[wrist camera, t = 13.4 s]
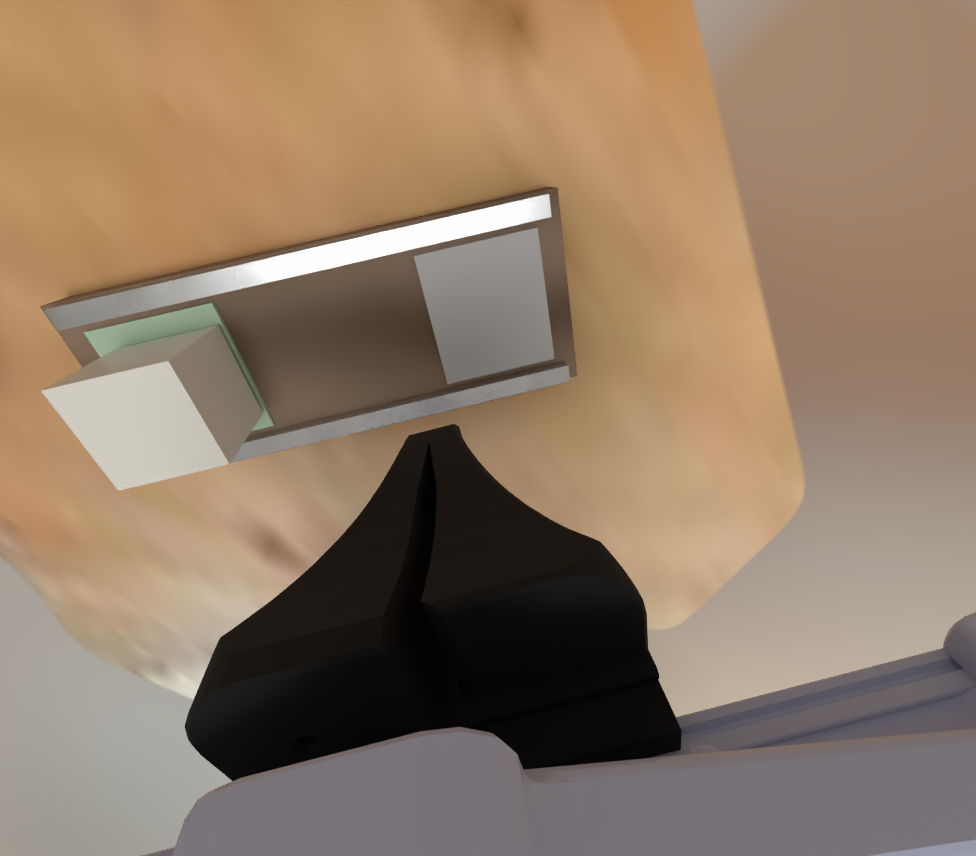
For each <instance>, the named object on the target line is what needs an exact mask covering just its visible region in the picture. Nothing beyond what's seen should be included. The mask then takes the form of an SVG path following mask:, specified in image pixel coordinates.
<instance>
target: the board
mask: <svg viewBox="0 0 976 856" xmlns="http://www.w3.org/2000/svg"><path fill="white" fill-rule="evenodd" d="M40 307H41V309H42V310H43V312H44V313H45V314H46V316H47V317H48V319H49V320H50V322H51V323H52V324H53V326H54V327H55V329H56V330H57V332H58V333H59V334H60V336H61V337H62V339H63V340H64V341H65V343H66V344H67V346H68V347H69V349H70V350H71V351H72V353H73V354H74V356H75V357H76V359H77V360H78V361H79V363H80V364H81V366H82V367H84V366H86V365H88V364H90V363H91V362H93V361H95V360H97V359H99V358H100V357H102V356H104V355H106V354H108V353H109V352H111V351H113V350H115V349H117V348H122V347H126V346H130V345H134V344H139V343H143V342H147V341H152V340H156V339H160V338H164V337H169V336H173V335H177V334H182V333H186V332H190V331H195V330H199V329H203V328H207V327H212V326H216V325H218V327H219V329H220V331H221V333H222V335H223V337H224V339H225V340H226V342H227V344H228V346H229V348H230V350H231V352H232V354H233V356H234V358H235V360H236V362H237V364H238V366H239V368H240V370H241V372H242V374H243V376H244V378H245V380H246V381H247V383H248V385H249V387H250V389H251V391H252V393H253V395H254V397H255V399H256V401H257V403H258V405H259V407H260V409H261V411H262V413H263V414H262V416H261V417H260V419H259V420H258V422H257V423H256V425H255V426H254V428H253V429H252V431H251V432H250V434H249V435H248V437H247V438H246V440H245V441H244V443H243V444H242V446H241V447H240V449H239V450H238V452H237V453H236V455H235V456H234V458H233V459H232V461H231V462H230V463H232V462H236V461H240V460H244V459H249V458H253V457H257V456H261V455H265V454H269V453H274V452H278V451H282V450H286V449H290V448H294V447H299V446H303V445H307V444H311V443H315V442H319V441H324V440H328V439H332V438H336V437H340V436H344V435H349V434H353V433H357V432H361V431H365V430H369V429H374V428H378V427H382V426H386V425H390V424H394V423H399V422H403V421H407V420H411V419H415V418H419V417H424V416H428V415H432V414H436V413H440V412H444V411H449V410H453V409H457V408H461V407H465V406H469V405H474V404H478V403H482V402H486V401H490V400H494V399H499V398H503V397H507V396H511V395H515V394H519V393H524V392H528V391H532V390H536V389H540V388H544V387H549V386H553V385H557V384H561V383H565V382H569V381H570V377H574V376H577V371H576V361H575V352H574V342H573V333H572V323H571V314H570V304H569V295H568V285H567V275H566V266H565V256H564V247H563V237H562V228H561V218H560V209H559V199H558V189H557V188H554V187H546V188H542V189H537V190H533V191H529V192H524V193H520V194H515V195H511V196H507V197H502V198H498V199H494V200H489V201H485V202H481V203H476V204H472V205H468V206H463V207H459V208H455V209H450V210H446V211H441V212H437V213H433V214H428V215H424V216H420V217H415V218H411V219H407V220H402V221H398V222H394V223H389V224H385V225H381V226H376V227H372V228H367V229H363V230H359V231H354V232H350V233H346V234H341V235H337V236H333V237H328V238H324V239H320V240H315V241H311V242H307V243H302V244H298V245H293V246H289V247H285V248H280V249H276V250H272V251H267V252H263V253H259V254H254V255H250V256H246V257H241V258H237V259H233V260H228V261H224V262H219V263H215V264H211V265H206V266H202V267H198V268H193V269H189V270H185V271H180V272H176V273H172V274H167V275H163V276H158V277H154V278H150V279H145V280H141V281H137V282H132V283H128V284H124V285H119V286H115V287H111V288H106V289H102V290H98V291H93V292H89V293H84V294H80V295H76V296H71V297H67V298H64V299H61V300H58V301H55V302H52V303H49V304H46V305H43V306H40Z"/></svg>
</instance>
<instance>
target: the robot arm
mask: <svg viewBox="0 0 976 856" xmlns="http://www.w3.org/2000/svg"><path fill="white" fill-rule="evenodd" d="M658 679H659V673H658V670H657V667H656V665H655V663H654V661H653V659H652V657H651V654H650V652H649V650H648V637H647V613H646V610H645V606H644V602H643V599H642V597H641V595H640V594H639V592H638V590H637V588H636V587H635V585H634V584H633V582H632V581H631V579H630V578H629V576H628V575H627V574H626V572H625V571H624V569H623V568H622V567H621V566H620V564H619V563H618V562H617V560H616V559H615V558H614V557H613V556H612V555H611V553H610V552H609V551H608V550H607V549H606V548H605V546H604V545H603V544H602V543H601V542H599V541H598V540H595V539H593V538H590V537H588V536H585V535H583V534H580V533H578V532H575V531H573V530H570V529H567V528H565V527H564V526H562V525H560V524H558V523H556V522H554V521H552V520H550V519H549V518H547V517H545V516H544V515H542V514H540V513H539V512H537V511H536V510H534V509H532V508H531V507H529V506H528V505H526V504H525V503H523V502H522V501H521V500H519V499H518V498H517V497H515V496H514V495H513V494H512V493H510V492H509V491H508V490H507V489H505V488H504V487H503V486H502V485H501V484H500V483H499V482H498V481H497V480H496V479H495V478H494V477H493V476H492V475H491V474H490V473H489V472H488V471H487V470H486V469H485V468H484V467H483V466H482V465H481V463H480V462H479V461H478V460H477V458H476V457H475V456H474V455H473V453H472V452H471V451H470V449H469V448H468V446H467V445H466V443H465V441H464V440H463V438H462V436H461V432H460V429H459V427H458V426H456V425H455V424H452V425H448V426H444V427H441V428H437V429H433V430H429V431H425V432H421V433H417V434H413V435H409V436H408V438H407V439H406V441H405V443H404V445H403V446H402V448H401V450H400V452H399V454H398V456H397V457H396V459H395V461H394V463H393V465H392V466H391V468H390V470H389V471H388V473H387V475H386V476H385V478H384V480H383V482H382V483H381V485H380V486H379V488H378V489H377V491H376V492H375V494H374V495H373V497H372V498H371V500H370V501H369V503H368V504H367V506H366V507H365V508H364V510H363V511H362V512H361V513H360V515H359V516H358V517H357V519H356V520H355V521H354V522H353V523H352V524H351V526H350V527H349V528H348V529H347V530H346V532H345V533H344V534H343V535H342V536H341V537H340V538H339V539H338V540H337V541H336V542H335V543H334V544H333V545H332V546H331V547H330V548H329V549H328V550H327V551H326V552H325V553H324V555H323V556H322V557H321V558H320V559H319V560H318V561H317V562H316V563H315V564H314V565H313V566H311V567H310V568H309V569H308V570H307V571H306V572H305V573H304V574H303V575H301V576H300V577H299V578H298V579H297V580H296V581H295V582H293V583H292V584H291V585H290V586H289V587H287V588H286V589H285V590H284V591H283V592H281V593H280V594H279V595H278V596H277V597H275V598H274V599H273V600H271V601H270V602H269V603H268V604H266V605H265V606H264V607H262V608H261V609H260V610H258V611H257V612H255V613H254V614H253V615H251V616H250V617H249V618H247V619H246V620H245V621H243V622H242V623H240V624H239V625H238V626H236V627H235V628H234V629H232V630H231V631H229V632H228V633H226V634H225V635H223V636H222V637H221V638H220V639H219V642H218V644H217V646H216V648H215V650H214V653H213V655H212V657H211V660H210V662H209V664H208V667H207V669H206V672H205V674H204V677H203V679H202V681H201V684H200V686H199V689H198V691H197V693H196V696H195V698H194V701H193V703H192V706H191V708H190V710H189V713H188V717H187V720H186V724H185V729H186V733H187V737H188V740H189V741H190V742H191V744H192V745H193V746H194V747H195V749H196V750H197V751H198V752H199V753H200V754H201V755H202V756H203V757H204V758H205V759H206V760H208V761H209V762H210V763H211V764H213V765H214V766H215V767H216V768H218V769H219V770H220V771H221V772H222V773H224V774H225V775H226V776H227V777H228V778H230V779H231V780H232V781H233V782H230V783H228V784H226V785H223V786H221V787H219V788H217V789H214V790H212V791H210V792H208V793H207V794H205V795H204V796H202V797H201V798H200V799H198V800H197V802H196V803H195V805H194V806H193V808H192V809H191V811H190V812H189V814H188V815H187V817H186V818H185V820H184V823H183V826H182V829H181V831H180V834H179V837H178V840H177V843H176V846H175V847H174V848H170V849H166V850H162V851H158V852H155V853H151V854H147V855H143V856H976V612H975V613H973V614H970V615H968V616H965V617H964V618H962V619H961V620H959V621H958V622H956V623H955V624H954V625H953V626H952V627H951V629H950V630H949V632H948V633H947V635H946V638H945V641H944V645H943V648H942V649H938V650H934V651H930V652H926V653H923V654H919V655H915V656H911V657H907V658H903V659H899V660H896V661H892V662H888V663H884V664H880V665H876V666H872V667H868V668H865V669H861V670H857V671H853V672H850V673H845V674H841V675H838V676H834V677H830V678H827V679H822V680H818V681H814V682H811V683H807V684H803V685H799V686H795V687H791V688H787V689H784V690H780V691H776V692H772V693H768V694H765V695H760V696H757V697H753V698H749V699H745V700H741V701H738V702H733V703H730V704H726V705H722V706H718V707H715V708H711V709H706V710H703V711H699V712H695V713H691V714H687V715H683V716H680V717H675V715H674V713H673V711H672V709H671V706H670V704H669V702H668V700H667V698H666V696H665V693H664V691H663V689H662V687H661V685H660V683H659V681H658Z"/></svg>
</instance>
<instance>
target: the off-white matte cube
mask: <svg viewBox="0 0 976 856" xmlns="http://www.w3.org/2000/svg"><path fill="white" fill-rule="evenodd" d="M41 391H42V393H43V394H44V395H45V396H46V398H47V399H48V400H49V402H50V403H51V404H52V406H53V407H54V408H55V409H56V411H57V412H58V413H59V415H60V416H61V417H62V418H63V420H64V421H65V422H66V424H67V425H68V426H69V428H70V429H71V430H72V431H73V433H74V434H75V435H76V437H77V438H78V439H79V440H80V442H81V443H82V444H83V446H84V447H85V448H86V450H87V451H88V452H89V453H90V455H91V456H92V457H93V459H94V460H95V461H96V462H97V464H98V465H99V466H100V468H101V469H102V470H103V471H104V473H105V474H106V475H107V477H108V478H109V479H110V481H111V482H112V483H113V484H114V486H115V487H116V488H117V490H118V491H119V490H124V489H128V488H132V487H136V486H140V485H144V484H149V483H153V482H157V481H161V480H165V479H169V478H174V477H178V476H182V475H186V474H190V473H194V472H199V471H203V470H207V469H211V468H215V467H219V466H224V465H228V464H230V462H231V461H232V459H233V458H234V456H235V455H236V453H237V452H238V450H239V449H240V447H241V446H242V444H243V443H244V441H245V440H246V438H247V437H248V435H249V434H250V432H251V431H252V429H253V428H254V426H255V425H256V423H257V422H258V420H259V419H260V417H261V416H262V414H263V413H262V411H261V409H260V407H259V405H258V403H257V401H256V399H255V397H254V395H253V393H252V391H251V389H250V387H249V385H248V383H247V381H246V380H245V378H244V376H243V374H242V372H241V370H240V368H239V366H238V364H237V362H236V360H235V358H234V356H233V354H232V352H231V350H230V348H229V346H228V344H227V342H226V340H225V339H224V337H223V335H222V333H221V331H220V329H219V327H218V325H216V326H212V327H207V328H203V329H199V330H195V331H190V332H186V333H182V334H177V335H173V336H169V337H164V338H160V339H156V340H152V341H147V342H143V343H139V344H134V345H130V346H126V347H122V348H117V349H115V350H113V351H111V352H109V353H108V354H106V355H104V356H102V357H100V358H99V359H97V360H95V361H93V362H91V363H90V364H88V365H86V366H84V367H83V368H81V369H79V370H77V371H75V372H74V373H72V374H70V375H68V376H66V377H65V378H63V379H61V380H59V381H57V382H56V383H54V384H52V385H50V386H48V387H47V388H45V389H43V390H41Z"/></svg>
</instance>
